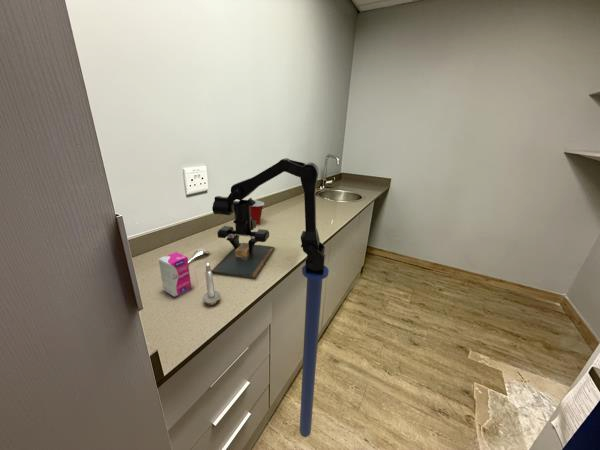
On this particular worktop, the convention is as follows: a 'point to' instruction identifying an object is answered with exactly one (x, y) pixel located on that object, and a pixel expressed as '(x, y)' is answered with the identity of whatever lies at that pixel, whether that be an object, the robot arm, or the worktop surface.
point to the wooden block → (243, 252)
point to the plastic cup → (256, 211)
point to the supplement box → (175, 274)
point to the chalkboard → (244, 263)
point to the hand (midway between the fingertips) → (244, 253)
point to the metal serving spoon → (198, 253)
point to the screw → (210, 288)
